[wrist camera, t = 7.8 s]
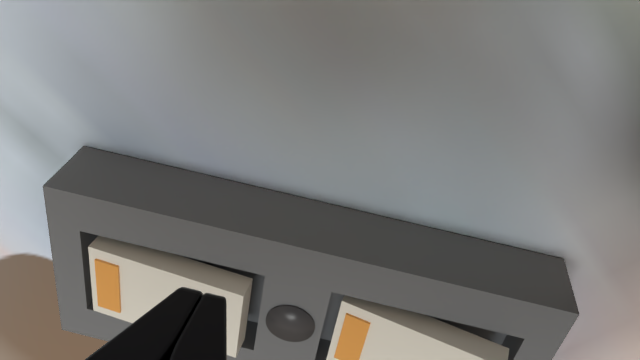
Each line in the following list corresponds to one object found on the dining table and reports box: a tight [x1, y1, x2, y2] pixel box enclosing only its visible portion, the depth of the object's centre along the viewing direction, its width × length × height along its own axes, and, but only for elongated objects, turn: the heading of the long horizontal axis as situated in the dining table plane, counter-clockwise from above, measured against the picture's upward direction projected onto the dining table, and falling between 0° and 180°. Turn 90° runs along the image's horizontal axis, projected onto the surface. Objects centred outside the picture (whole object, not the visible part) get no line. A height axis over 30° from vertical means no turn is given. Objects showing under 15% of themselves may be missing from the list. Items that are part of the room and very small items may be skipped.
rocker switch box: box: [43, 146, 579, 360], centre depth 24 cm, size 20×8×3 cm, turn 80°
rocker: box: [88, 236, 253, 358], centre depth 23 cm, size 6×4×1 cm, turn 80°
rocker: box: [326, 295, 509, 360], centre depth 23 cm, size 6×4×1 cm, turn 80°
